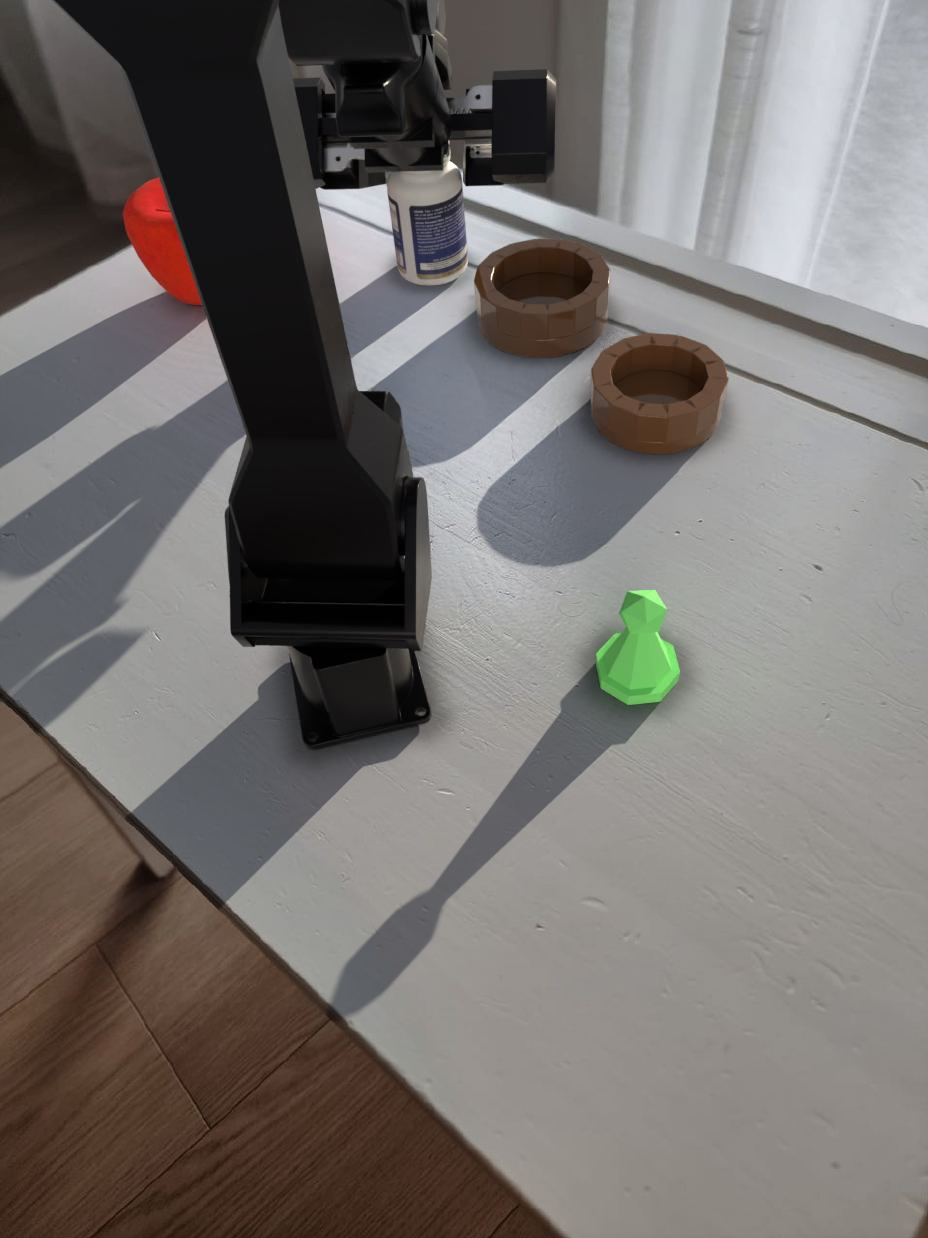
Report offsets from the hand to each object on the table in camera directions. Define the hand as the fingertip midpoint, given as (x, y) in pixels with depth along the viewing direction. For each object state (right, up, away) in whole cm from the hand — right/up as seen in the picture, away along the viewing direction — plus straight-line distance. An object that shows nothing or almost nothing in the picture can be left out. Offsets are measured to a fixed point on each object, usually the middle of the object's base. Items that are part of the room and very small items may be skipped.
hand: (426, 174), depth 72 cm
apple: (-17, -7, +5) cm, 19 cm away
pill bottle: (0, -5, +4) cm, 7 cm away
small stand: (+15, -19, -8) cm, 25 cm away
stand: (+8, -11, -1) cm, 13 cm away
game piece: (+12, -35, -20) cm, 42 cm away
